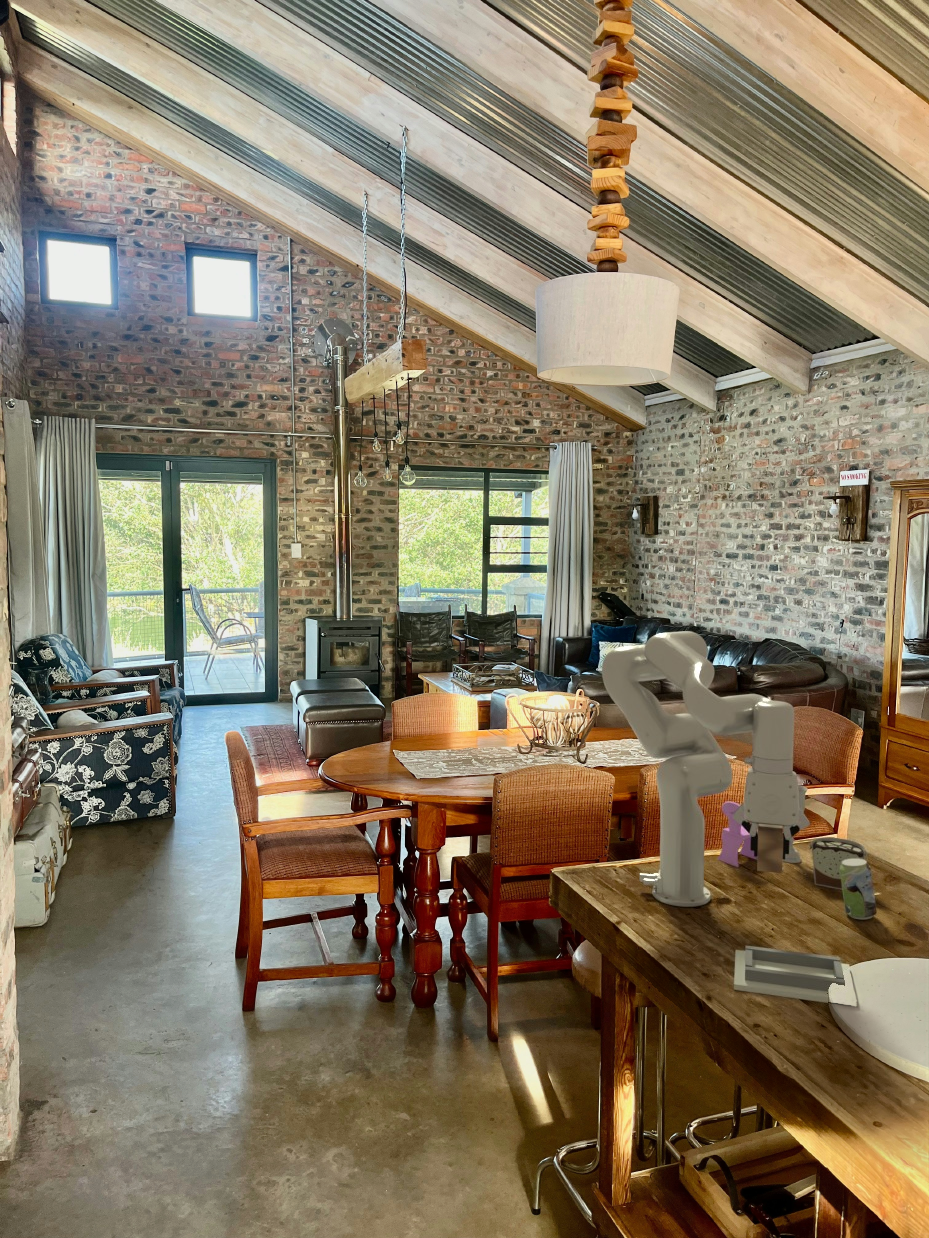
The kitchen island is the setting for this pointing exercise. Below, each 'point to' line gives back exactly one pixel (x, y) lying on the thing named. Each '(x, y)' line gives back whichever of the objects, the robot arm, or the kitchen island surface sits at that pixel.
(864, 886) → the beverage can
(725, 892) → the kitchen island surface
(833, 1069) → the kitchen island surface
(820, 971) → the pocket board
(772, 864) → the key block
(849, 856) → the food container
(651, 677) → the robot arm
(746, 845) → the toy chair
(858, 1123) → the kitchen island surface
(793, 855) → the chalice
